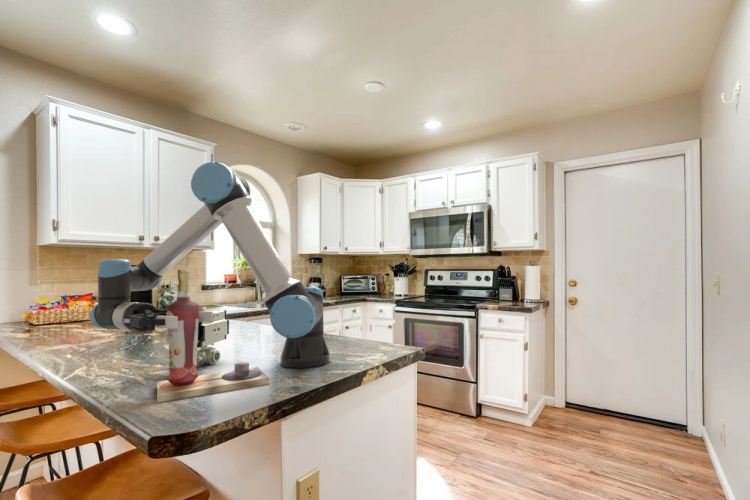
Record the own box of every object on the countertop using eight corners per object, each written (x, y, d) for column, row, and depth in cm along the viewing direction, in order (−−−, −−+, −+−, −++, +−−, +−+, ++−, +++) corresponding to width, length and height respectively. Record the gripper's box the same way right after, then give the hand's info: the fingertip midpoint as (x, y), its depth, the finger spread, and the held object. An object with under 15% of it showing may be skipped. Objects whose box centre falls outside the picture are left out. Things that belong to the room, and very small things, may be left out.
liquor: (204, 381, 96) (205, 269, 98) (174, 389, 91) (175, 269, 93) (190, 377, 101) (190, 270, 103) (160, 384, 95) (161, 270, 97)
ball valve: (199, 371, 113) (199, 310, 114) (173, 370, 115) (173, 310, 116) (233, 357, 131) (233, 304, 132) (211, 356, 132) (210, 304, 133)
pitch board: (257, 372, 111) (257, 356, 111) (269, 383, 99) (268, 365, 99) (157, 387, 98) (157, 369, 98) (157, 402, 87) (157, 382, 87)
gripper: (173, 324, 114) (230, 328, 104) (91, 337, 94) (151, 343, 84) (173, 299, 114) (230, 300, 104) (91, 306, 94) (151, 308, 84)
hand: (195, 319), depth 94 cm, fingers open, 9 cm apart
